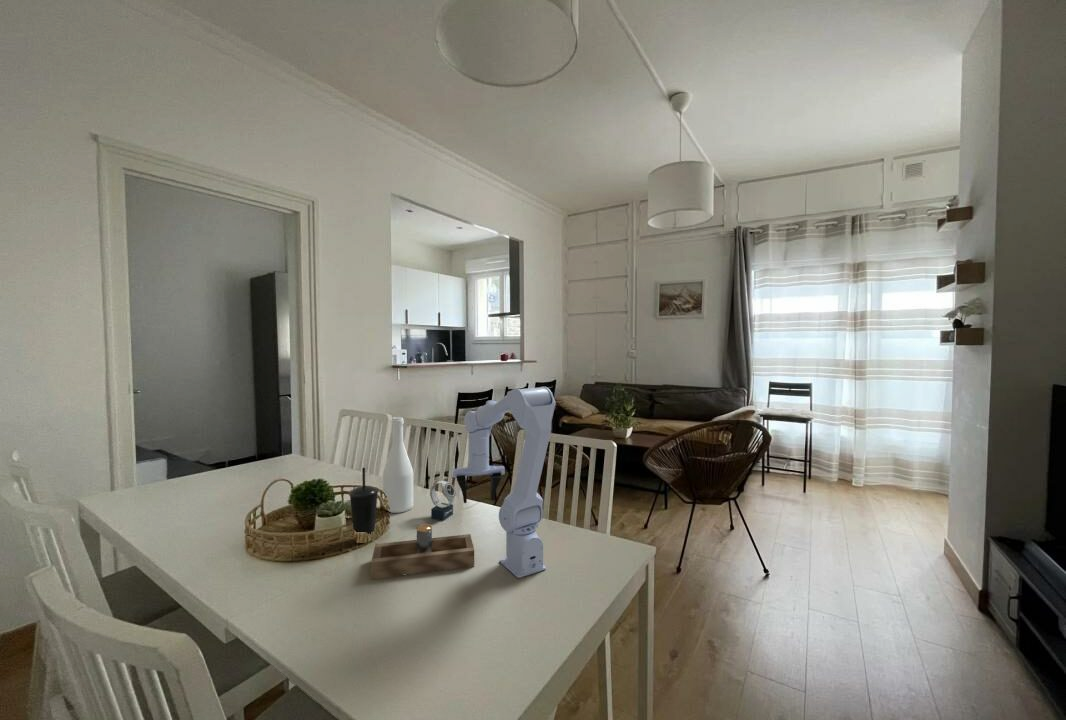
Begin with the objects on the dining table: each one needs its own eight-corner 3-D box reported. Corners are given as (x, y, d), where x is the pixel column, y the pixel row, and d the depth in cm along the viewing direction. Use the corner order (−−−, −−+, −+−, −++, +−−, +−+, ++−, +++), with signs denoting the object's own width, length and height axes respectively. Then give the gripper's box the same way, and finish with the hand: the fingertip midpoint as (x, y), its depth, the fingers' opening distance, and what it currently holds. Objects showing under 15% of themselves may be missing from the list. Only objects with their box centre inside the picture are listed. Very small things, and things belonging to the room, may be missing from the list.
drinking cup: (383, 534, 121) (383, 464, 120) (371, 547, 114) (370, 472, 113) (358, 533, 122) (357, 463, 121) (343, 545, 114) (342, 471, 114)
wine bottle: (376, 511, 137) (376, 419, 136) (394, 501, 146) (394, 414, 145) (402, 515, 134) (401, 420, 133) (418, 504, 144) (418, 416, 142)
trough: (470, 548, 113) (470, 534, 113) (474, 566, 104) (474, 550, 104) (375, 559, 107) (375, 544, 107) (371, 579, 98) (371, 562, 98)
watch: (448, 521, 130) (448, 486, 129) (426, 517, 133) (426, 482, 132) (458, 515, 135) (458, 480, 135) (436, 511, 138) (436, 477, 138)
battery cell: (433, 560, 105) (433, 528, 104) (418, 563, 103) (418, 531, 103) (429, 554, 108) (429, 522, 108) (415, 557, 106) (415, 525, 106)
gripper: (501, 448, 126) (501, 493, 126) (451, 450, 122) (451, 497, 123) (506, 454, 119) (506, 502, 119) (453, 457, 115) (453, 506, 116)
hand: (478, 500), depth 120 cm, fingers open, 7 cm apart
